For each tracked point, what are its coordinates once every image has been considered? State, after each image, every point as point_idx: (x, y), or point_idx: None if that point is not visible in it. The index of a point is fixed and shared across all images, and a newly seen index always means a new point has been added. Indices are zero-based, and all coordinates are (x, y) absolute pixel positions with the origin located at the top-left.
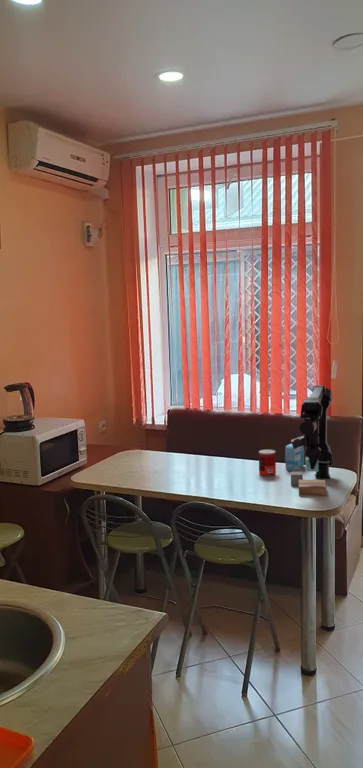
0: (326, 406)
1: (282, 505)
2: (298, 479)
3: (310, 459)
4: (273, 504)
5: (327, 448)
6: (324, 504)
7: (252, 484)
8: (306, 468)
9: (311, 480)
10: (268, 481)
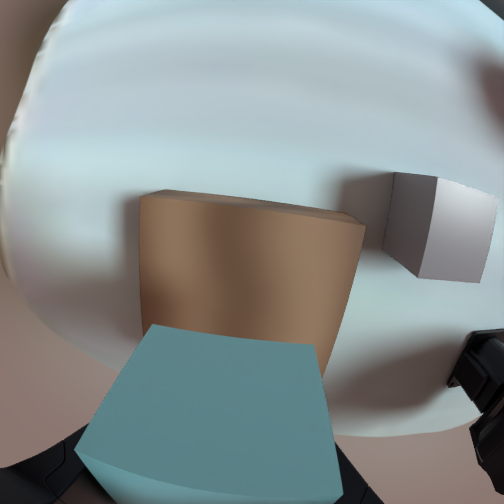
0: None
1: (27, 107)
2: (407, 231)
3: (39, 468)
4: (42, 67)
5: (497, 491)
6: (50, 296)
7: None
8: (139, 351)
9: (321, 322)
10: (466, 69)
